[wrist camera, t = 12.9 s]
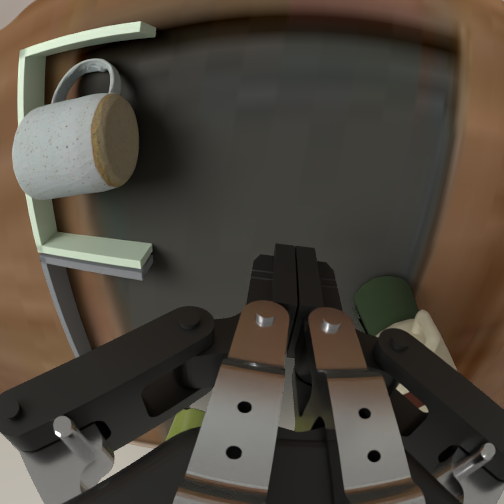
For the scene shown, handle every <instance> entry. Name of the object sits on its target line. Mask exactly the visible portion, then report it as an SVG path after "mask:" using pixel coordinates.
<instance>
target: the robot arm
mask: <svg viewBox="0 0 504 504" xmlns="http://www.w3.org/2000/svg"><path fill="white" fill-rule="evenodd" d="M286 350H287V357H289V358H295V366H294V369H293V373H292V387H293V398H294V411H295V430H294V431H292V430H288V429H285V428H281V427H278V423H279V416H280V409H281V401H282V394H283V386H284V378H285V369H284V360H285V354H286ZM399 384H401V385H402V386H404V387H405V388H406V389H407V390H408V391H409V392H411V393H412V394H413V395H414V396H415V397H416V398H417V399H419V400H420V401H421V402H422V403H423V404H424V405H425V406H426V407H427V409H428V412H423V411H421V410H420V409H419V408H417V407H416V406H415V405H414V404H413V403H412V402H411V401H409V400H408V399H407V398H406V397H405V396H404V395H403V394H401V393H400V392H399V391H398V390H397V389H396V388H397V386H398V385H399ZM213 387H214V389H213V392H212V395H211V398H210V401H209V404H208V407H207V410H206V413H205V416H204V419H203V422H202V426H199V427H195V428H192V429H188V430H186V431H183V432H180V433H179V434H177V435H175V436H173V437H171V438H170V439H168V440H166V441H165V442H164V443H162V444H161V445H159V446H158V447H156V448H155V449H153V450H152V451H151V452H149V453H148V454H146V455H144V456H143V457H141V458H140V459H138V460H137V461H135V462H133V463H132V464H130V465H129V466H127V467H126V468H124V469H122V470H121V471H119V472H117V473H116V474H114V475H112V476H111V477H109V478H107V479H106V480H104V481H102V482H101V483H99V484H98V482H99V480H100V479H101V478H102V477H104V476H105V475H106V474H107V473H108V472H109V471H110V470H111V469H112V467H113V464H114V451H115V450H117V449H119V448H121V447H122V446H124V445H126V444H128V443H129V442H131V441H133V440H135V439H136V438H138V437H140V436H141V435H143V434H145V433H146V432H148V431H150V430H151V429H153V428H155V427H156V426H158V425H160V424H161V423H163V422H164V421H166V420H168V419H169V418H171V417H172V416H174V415H175V414H177V413H179V412H180V411H182V410H183V409H185V408H186V407H188V406H189V405H191V404H192V403H194V402H195V401H197V400H198V399H200V398H201V397H203V396H204V395H206V394H207V393H208V392H210V391H211V389H212V388H213ZM0 432H1V433H2V434H3V435H4V436H5V437H6V438H7V439H8V440H9V441H10V442H11V443H12V445H13V446H14V447H15V448H17V450H18V451H19V452H20V454H21V456H22V459H23V461H24V463H25V466H26V468H27V470H28V472H29V474H30V476H31V479H32V480H33V483H34V484H35V486H36V488H37V490H38V492H39V494H40V496H41V498H42V500H43V502H44V504H496V503H497V501H498V500H499V498H500V496H501V494H502V492H503V490H504V410H503V409H502V408H501V407H500V406H499V405H497V404H496V403H495V402H494V401H493V400H492V399H490V398H489V397H488V396H487V395H486V394H484V393H483V392H482V391H481V390H480V389H478V388H477V387H476V386H475V385H473V384H472V383H471V382H470V381H469V380H467V379H466V378H465V377H464V376H462V375H461V374H460V373H459V372H457V371H456V370H455V369H454V368H453V367H451V366H450V365H449V364H448V363H446V362H445V361H444V360H443V359H441V358H440V357H439V356H438V355H436V354H435V353H434V352H433V351H431V350H430V349H429V348H427V347H426V346H425V345H424V344H422V343H421V342H420V341H419V340H417V339H416V338H415V337H413V336H412V335H411V334H409V333H408V332H406V331H404V330H402V329H398V328H388V329H385V330H383V331H382V332H381V333H380V335H379V337H376V336H373V335H369V334H366V333H363V332H361V331H359V330H357V329H355V327H354V324H353V322H352V320H351V318H350V317H349V316H348V315H347V314H345V313H344V312H343V311H342V306H341V302H340V297H339V293H338V288H337V284H336V281H335V275H334V271H333V269H332V268H331V267H330V266H329V265H328V264H327V263H326V262H319V261H317V259H316V253H315V249H314V248H309V247H301V246H292V245H284V244H275V250H274V256H269V255H261V254H260V255H259V256H258V257H257V258H256V259H255V260H254V262H253V268H252V274H251V280H250V286H249V292H248V298H247V304H246V306H245V307H244V308H243V310H242V312H241V313H239V314H238V315H236V316H233V317H230V318H225V319H215V320H214V319H213V317H212V315H211V314H210V313H209V312H208V311H206V310H204V309H202V308H199V307H194V306H185V307H180V308H177V309H175V310H173V311H171V312H169V313H167V314H165V315H163V316H161V317H159V318H157V319H155V320H153V321H151V322H149V323H147V324H145V325H143V326H141V327H139V328H137V329H135V330H133V331H131V332H128V333H126V334H124V335H122V336H120V337H118V338H116V339H114V340H112V341H110V342H108V343H106V344H104V345H102V346H100V347H98V348H96V349H94V350H92V351H89V352H87V353H85V354H83V355H81V356H79V357H77V358H75V359H73V360H71V361H69V362H67V363H64V364H62V365H60V366H58V367H56V368H54V369H52V370H50V371H48V372H45V373H43V374H41V375H39V376H37V377H35V378H33V379H31V380H28V381H26V382H24V383H22V384H20V385H18V386H16V387H13V388H11V389H9V390H7V391H5V392H3V393H2V394H1V395H0Z"/></svg>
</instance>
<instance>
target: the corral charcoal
mask: <svg viewBox="0 0 504 504" xmlns="http://www.w3.org/2000/svg"><path fill="white" fill-rule="evenodd" d="M39 257H40V261H41V264H42V268H43V271H44V275H45V278H46V281H47V284H48V287H49V290H50V293H51V296H52V299H53V302H54V305H55V308H56V311H57V313H58V316H59V319H60V321H61V324H62V326H63V329H64V331H65V334H66V336H67V339H68V341H69V343H70V346H71V348H72V350H73V352H74V355H75V357H76V358H77V357H79V356H81V355H83V354H85V353H87V352H89V351H92V349H91V346H90V343H89V341H88V338H87V335H86V332H85V330H84V327H83V324H82V321H81V318H80V315H79V312H78V309H77V306H76V302H75V299H74V296H73V292H72V289H71V285H70V282H69V278H68V274H67V271H66V267H68V268H73V269H79V270H84V271H90V272H95V273H101V274H107V275H113V276H118V277H124V278H131V279H137V280H143V279H144V277H145V275H146V274H147V272H148V270H149V268H150V267H151V265H152V263H153V255H150V256H149V257H148V259H147V260H146V262H145V264H144V265H143V267H142V268H141V269H138V268H131V267H125V266H118V265H112V264H105V263H99V262H93V261H87V260H81V259H75V258H69V257H63V256H57V255H52V254H46V253H41V254H40V255H39Z"/></svg>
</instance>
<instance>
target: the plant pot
mask: <svg viewBox="0 0 504 504" xmlns="http://www.w3.org/2000/svg"><path fill="white" fill-rule="evenodd" d="M205 413H206V412H204V411H202V410H198V409H193V408H191V409H188V410H185V409H183V410H182V411H180V412H179V413H177V414H176V416H175V418H174V421H173V423H172V426H171V428H170V431H169V433H168V436H167V438H166V440H168V439H170V438H171V437H173V436H175V435H177V434H179V433H180V432H183V431H186V430H188V429H192V428H195V427H199V426H202V422H203V419H204V416H205ZM166 440H165V441H166Z"/></svg>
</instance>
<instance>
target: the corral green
mask: <svg viewBox="0 0 504 504" xmlns="http://www.w3.org/2000/svg"><path fill="white" fill-rule="evenodd" d="M155 35H156V28H155V27H153V26H151V25H148V24H146V23H144V22H141V21H140V22H132V23H125V24H119V25H113V26H107V27H102V28H97V29H92V30H88V31H83V32H79V33H75V34H71V35H67V36H63V37H60V38H56V39H53V40H50V41H46V42H43V43H40V44H37V45H34V46H31V47H28V48H26V49H23V50H20V56H19V70H18V127H19V125H20V123H21V121H22V119H23V118H24V117H25V116H26V115H27V114H28V113H29V112H30V111H32V110H34V109H36V108H38V107H41V106H44V89H45V66H46V56H49V55H53V54H57V53H61V52H65V51H69V50H73V49H78V48H82V47H87V46H92V45H98V44H104V43H110V42H116V41H124V40H132V39H141V38H151V37H155ZM26 199H27V205H28V210H29V215H30V220H31V225H32V229H33V234H34V238H35V242H36V246H37V250H38V252H41V253H46V254H52V255H57V256H63V257H69V258H75V259H81V260H87V261H93V262H99V263H105V264H112V265H118V266H125V267H131V268H138V269H141V268H142V267H143V265H144V264H145V262H146V260H147V259H148V257H149V256H150V254H151V253H152V244H151V243H143V242H135V241H127V240H119V239H111V238H103V237H95V236H87V235H79V234H71V233H63V232H58V231H57V226H56V221H55V216H54V210H53V204H52V199H49V200H37V199H34V198H32V197H30V196H29V195H27V194H26Z"/></svg>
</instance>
